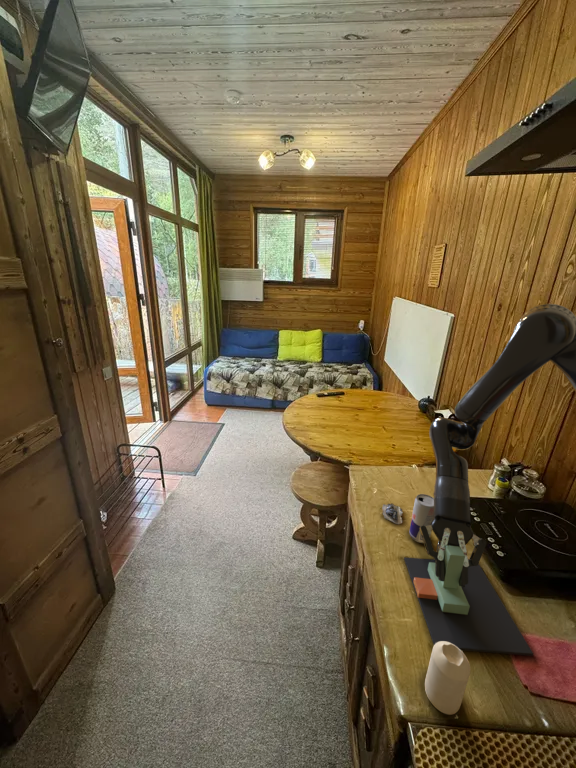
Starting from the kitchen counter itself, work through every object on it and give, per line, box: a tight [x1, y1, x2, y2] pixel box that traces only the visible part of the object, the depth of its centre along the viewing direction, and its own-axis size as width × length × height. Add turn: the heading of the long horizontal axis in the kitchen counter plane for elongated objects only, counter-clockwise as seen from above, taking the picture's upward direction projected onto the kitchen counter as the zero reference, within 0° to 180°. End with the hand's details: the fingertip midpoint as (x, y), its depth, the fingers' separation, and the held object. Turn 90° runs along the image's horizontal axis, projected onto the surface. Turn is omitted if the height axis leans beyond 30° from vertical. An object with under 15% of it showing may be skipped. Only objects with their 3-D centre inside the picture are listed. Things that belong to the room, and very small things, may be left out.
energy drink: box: [408, 493, 434, 544], centre depth 83 cm, size 5×5×12 cm
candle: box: [424, 641, 472, 716], centre depth 50 cm, size 6×6×10 cm
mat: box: [403, 557, 534, 657], centre depth 67 cm, size 18×20×1 cm
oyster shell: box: [381, 503, 403, 525], centre depth 92 cm, size 7×8×2 cm
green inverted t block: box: [428, 545, 470, 615], centre depth 67 cm, size 5×10×12 cm, turn 173°
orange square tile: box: [413, 577, 438, 600], centre depth 69 cm, size 4×4×1 cm
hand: (451, 583), depth 65 cm, fingers closed on green inverted t block, 3 cm apart
